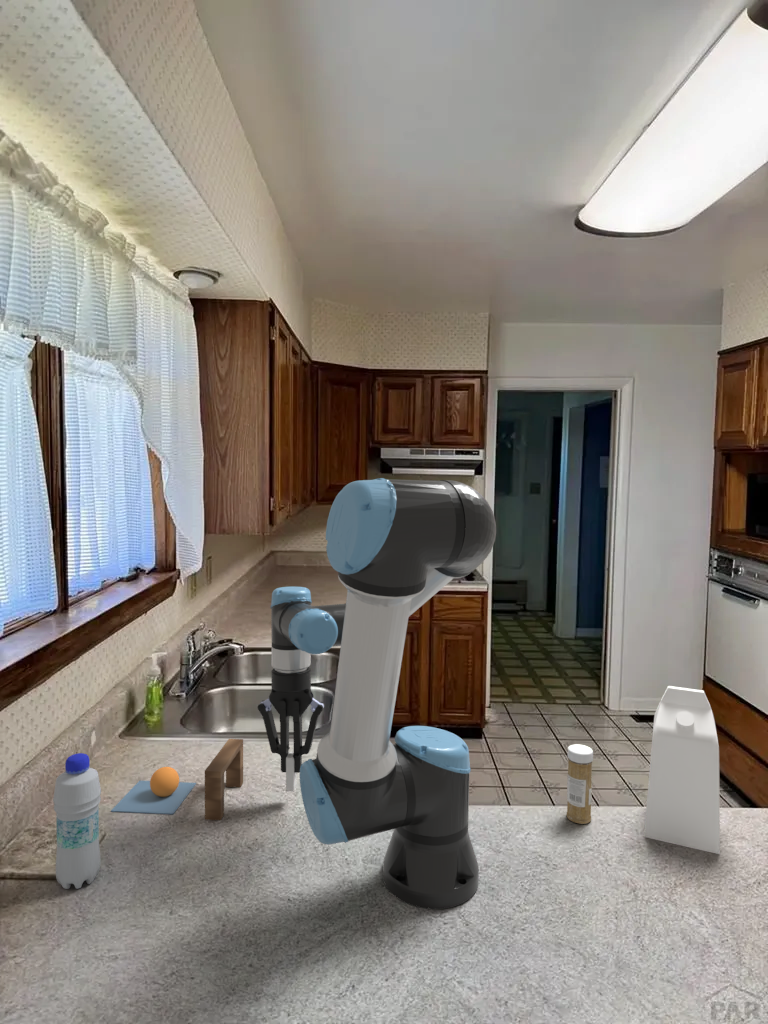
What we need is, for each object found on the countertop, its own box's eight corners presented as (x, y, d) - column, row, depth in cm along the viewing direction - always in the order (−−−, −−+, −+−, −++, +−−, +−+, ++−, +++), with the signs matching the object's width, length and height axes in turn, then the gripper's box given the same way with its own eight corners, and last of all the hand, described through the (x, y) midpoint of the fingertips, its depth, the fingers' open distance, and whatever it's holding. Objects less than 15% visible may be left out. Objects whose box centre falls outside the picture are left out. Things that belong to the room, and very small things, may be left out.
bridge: (243, 782, 130) (243, 739, 130) (220, 820, 116) (220, 771, 115) (229, 782, 130) (228, 738, 130) (204, 819, 116) (204, 770, 115)
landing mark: (173, 814, 118) (173, 813, 118) (111, 811, 118) (111, 810, 118) (196, 783, 130) (196, 782, 130) (139, 781, 130) (139, 780, 130)
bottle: (111, 872, 100) (110, 749, 99) (78, 898, 94) (76, 767, 93) (78, 863, 102) (77, 743, 101) (44, 888, 96) (42, 760, 95)
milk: (715, 821, 117) (721, 684, 116) (719, 854, 107) (725, 704, 106) (646, 806, 122) (650, 675, 121) (643, 836, 112) (648, 693, 111)
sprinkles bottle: (596, 820, 117) (598, 750, 117) (580, 827, 115) (582, 755, 114) (576, 809, 121) (578, 741, 120) (560, 816, 118) (562, 746, 118)
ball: (139, 787, 122) (158, 807, 122) (158, 769, 122) (177, 790, 121) (152, 773, 128) (170, 793, 128) (170, 756, 127) (189, 776, 127)
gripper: (327, 662, 124) (327, 780, 125) (262, 661, 125) (263, 778, 126) (321, 673, 117) (321, 798, 118) (252, 672, 118) (253, 796, 118)
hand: (291, 787), depth 122 cm, fingers closed
